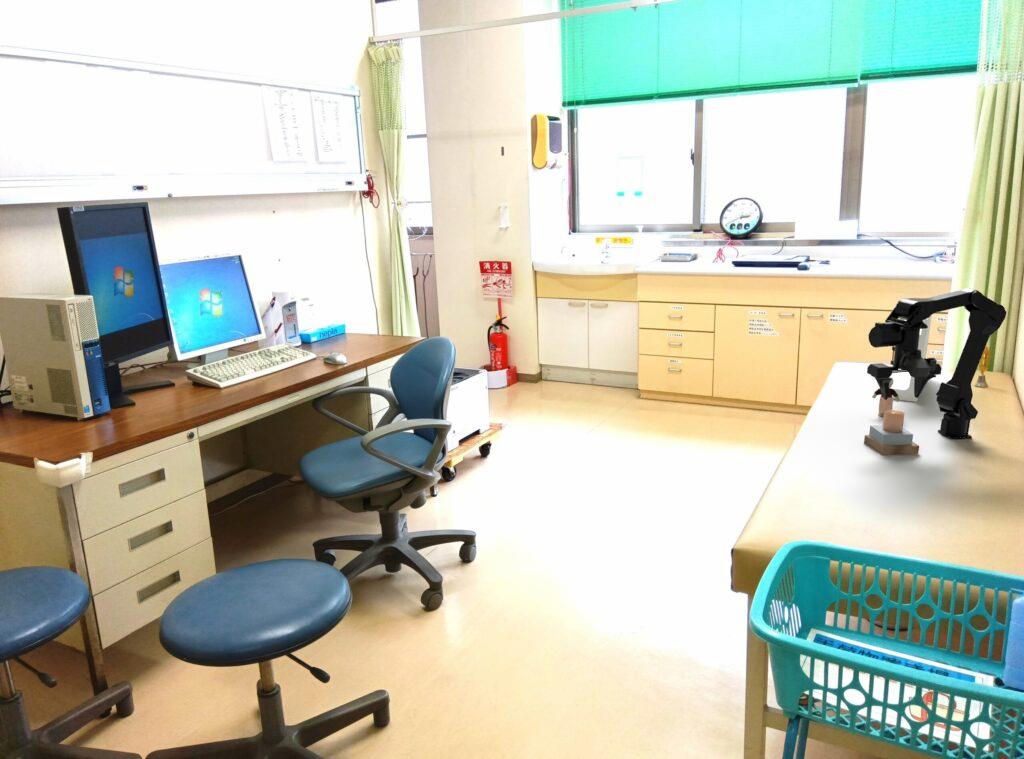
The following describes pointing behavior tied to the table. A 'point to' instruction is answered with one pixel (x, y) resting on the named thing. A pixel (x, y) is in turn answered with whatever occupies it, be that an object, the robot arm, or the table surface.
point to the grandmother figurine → (887, 403)
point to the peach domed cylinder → (893, 421)
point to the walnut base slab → (891, 447)
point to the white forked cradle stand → (904, 380)
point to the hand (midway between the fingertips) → (900, 398)
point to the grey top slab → (890, 436)
